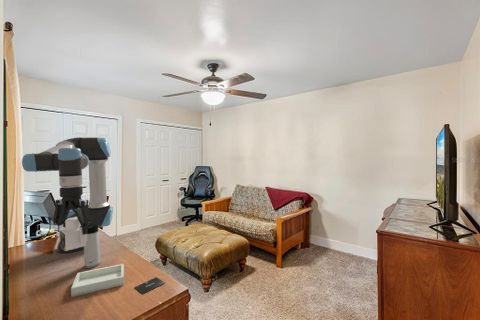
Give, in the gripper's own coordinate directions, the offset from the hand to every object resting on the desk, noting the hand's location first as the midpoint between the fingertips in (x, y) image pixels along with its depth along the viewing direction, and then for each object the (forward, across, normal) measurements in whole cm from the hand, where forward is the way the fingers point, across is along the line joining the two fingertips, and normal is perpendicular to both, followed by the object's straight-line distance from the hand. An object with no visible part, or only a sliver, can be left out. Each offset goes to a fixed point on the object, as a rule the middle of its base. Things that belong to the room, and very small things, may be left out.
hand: (73, 241), depth 95 cm
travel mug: (+20, -10, +18) cm, 29 cm away
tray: (+20, +7, +6) cm, 22 cm away
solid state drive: (+20, +29, +8) cm, 36 cm away
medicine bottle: (+2, 0, 0) cm, 2 cm away
